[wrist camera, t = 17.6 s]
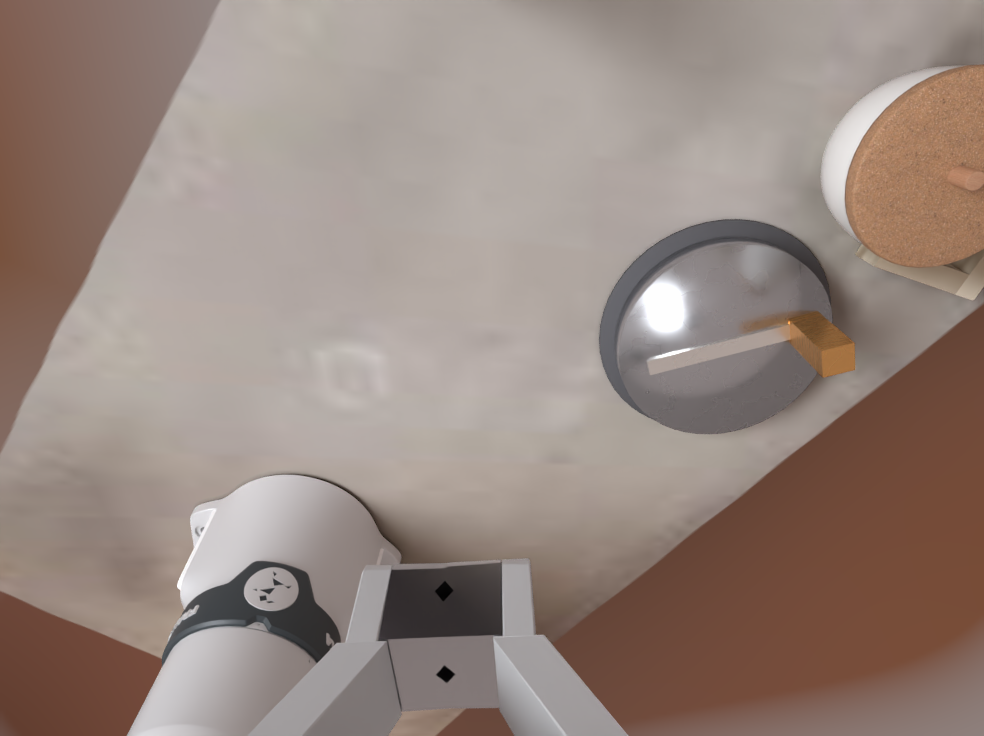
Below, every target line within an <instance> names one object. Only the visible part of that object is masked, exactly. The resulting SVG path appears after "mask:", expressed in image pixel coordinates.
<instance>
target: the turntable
mask: <svg viewBox="0 0 984 736" xmlns="http://www.w3.org/2000/svg"><path fill="white" fill-rule="evenodd" d="M614 351H615V358H616V363H617V366H618V369H619V372H620V375H621V377H622V380H623V383H624V385H625V387H626V389H627V391H628V393H629V395H630V397H631V398H632V399H633V401H634V402H635V404H636V405H637V406H638V407H639V408H640V409H641V410H642V411H643V412H644V413H645V414H647V415H648V416H649V417H651V418H652V419H653V420H655V421H657V422H659V423H660V424H662V425H665V426H667V427H670V428H672V429H675V430H679V431H683V432H688V433H695V434H718V433H726V432H732V431H736V430H740V429H743V428H747V427H750V426H752V425H755V424H757V423H760V422H762V421H764V420H766V419H768V418H770V417H771V416H773V415H775V414H776V413H778V412H779V411H781V410H782V409H784V408H785V407H787V406H788V405H789V404H790V403H792V402H793V401H794V400H795V399H796V398H797V397H798V396H799V395H800V394H801V393H802V392H803V391H804V390H805V389H806V388H807V387H808V385H809V384H810V383H811V382H812V380H813V379H814V377H815V376H816V374H817V373H819V374H820V375H821V376H822V377H823V378H824V377H828V376H832V375H836V374H840V373H844V372H848V371H852V370H855V343H854V342H853V341H852V340H851V339H850V338H848V337H847V336H846V335H845V334H844V333H843V332H841V331H840V330H839V329H838V328H837V327H836V326H834V325H833V318H832V310H831V305H830V302H829V298H828V295H827V293H826V291H825V289H824V287H823V285H822V283H821V282H820V281H819V279H818V278H817V277H816V275H815V274H814V273H813V272H812V271H811V270H810V269H809V268H808V267H807V266H806V265H804V264H803V263H802V262H800V261H799V260H798V259H796V258H795V257H794V256H792V255H791V254H789V253H788V252H787V251H785V250H784V249H782V248H780V247H778V246H776V245H774V244H772V243H769V242H765V241H762V240H759V239H754V238H748V237H721V238H714V239H709V240H705V241H701V242H698V243H695V244H692V245H689V246H687V247H685V248H683V249H681V250H679V251H676V252H674V253H673V254H671V255H670V256H668V257H666V258H665V259H663V260H662V261H660V262H659V263H658V264H657V265H655V266H654V267H653V268H652V269H650V270H649V271H648V272H647V273H646V274H645V275H644V276H643V278H642V279H641V280H640V281H639V282H638V283H637V285H636V286H635V287H634V288H633V290H632V291H631V293H630V294H629V296H628V298H627V299H626V301H625V303H624V305H623V307H622V310H621V312H620V314H619V318H618V321H617V325H616V330H615V337H614Z"/></svg>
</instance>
